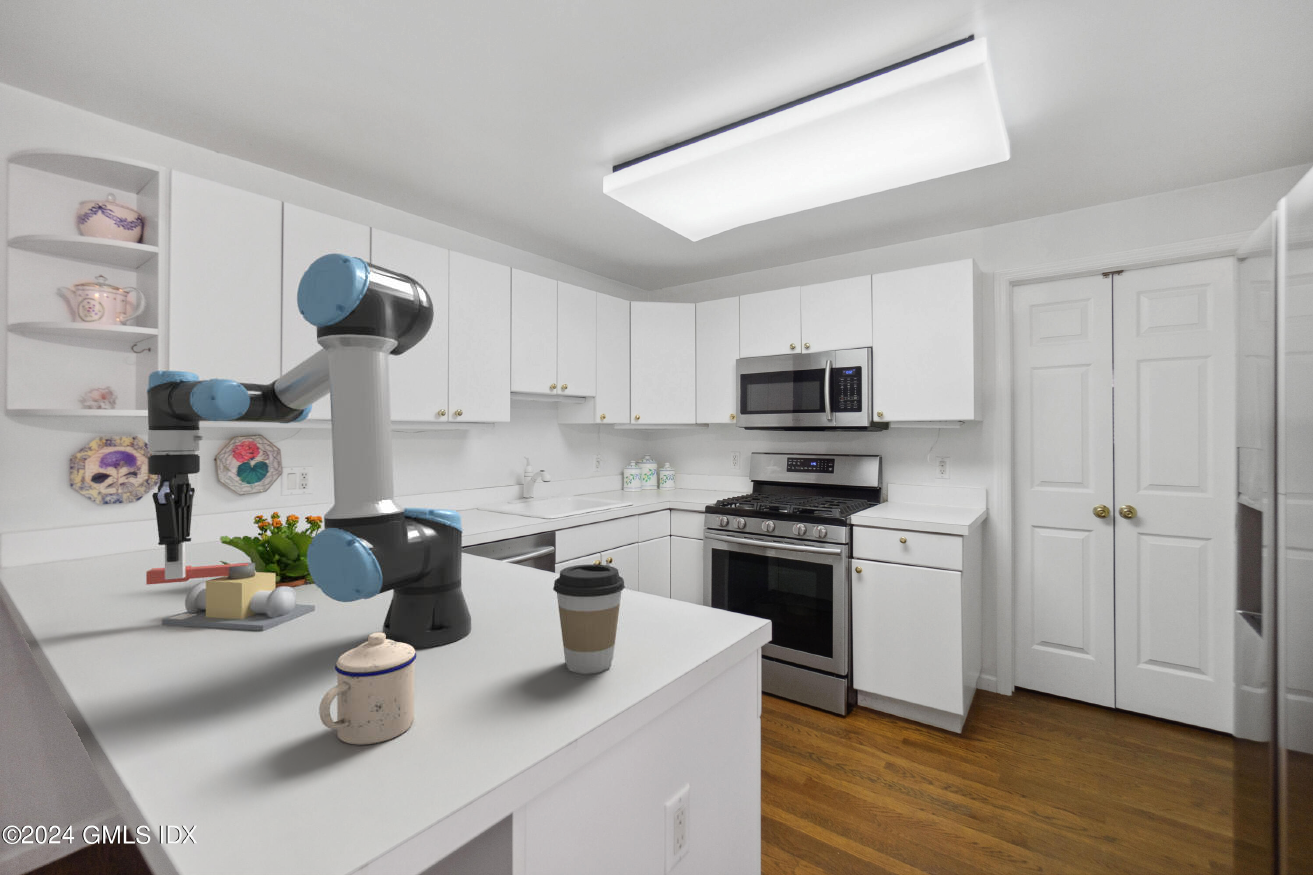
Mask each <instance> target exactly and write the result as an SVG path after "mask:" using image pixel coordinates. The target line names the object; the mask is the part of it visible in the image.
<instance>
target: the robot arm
mask: <svg viewBox="0 0 1313 875" xmlns="http://www.w3.org/2000/svg"><path fill="white" fill-rule="evenodd" d="M296 293H297V294H296V303H297V308H298V312H299V314H300V315H302V316H303V319H304V321H306V322H308V323H309V324H310V325H311V326H314V327H316V342H317V344H318V345H320V347H322V348H321V349H319V350H318V351H316V352H315V353H314V354H312V355H310V356H309V357H308V358H306V359H305V360H303V361H302V362H300V363H299V364H298V365H296V366H295V367H293V368H291V369H290V370H289V371H287V372H285V373H284V374H282V375H281V376H280V377H278V378H277V379H275V380H273V381H272V382H271V383H269V384H263V383H262V384H261V383H251V382H249V383H248V382H238V381H236V380H233V379H227V378H226V379H225V378H223V379H221V378H220V379H219V378H210V379H203V380H200V379H199V375H198V374H197V373H195V372H191V371H181V370H155V371H152V372H151V373H149V375H148V384H147V389H146V394H147V396H146V397H147V420H148V421H147V424H148V430H147V451H148V452H149V453H152V454H150V455H149V456H148V458H147V461H148V466H147V467H148V469H147V470H148V471H147V472H148V474H149V475H151V476H160V478H159V483H158V486H157V492H153V493H152V500H153V504H154V507H155V516H156V525H157V533H158V542H157V545H159V546H164V568H165V580H166V579H178V578H184V577H185V566H186V543H190V542H192V537H190V535H191V527H192V525H191V524H192V514H193V512H192V511H193V503H194V502H193V500H194V498H195V497H194V496H195V492H196V490H195V487H192V485H191V483H190V479H189V475H192V474H198V473H200V470H201V468H200V467H201V464H200V463H201V461H200V458H201V456H200V455H199V454H197V453H196V452H198V451H200V442H201V441H202V440H203V436H202V435H200V422H240V423H241V422H248V423H251V422H257V423H279V424H291V423H301V422H303V421H305V420H306V419H308V417H309V414H310V413H311V412H312V409H313V404H314V403H315V402H318V401H319V400H321V399H322V398H325V397H326V396H327V395H329V394H330V395H329V396H330V398H329V399H330V420H331V445H332V469H333V472H332V474H333V496H334V500H333V501H334V504H333V505H332V507H330V509H329V510H328V511H327V512H326V513H324V515H323V523H324V524H323V525H324V526H323V527H324V529H322V530H321V531H320V532H317V535H316V534H315V535H314V538H313V539H312V543H311V544H310V545H309V547H308V552H307V562H308V568H309V572H310V574H311V577H312V579H313V581H314V582H313V583H314V584H315V586H316V587H317V588H318V589H320V590H321V591H322V593H323V594H324V595H325V596H326V597H328V598H330V599H331V600H333V601H337V602H340V603H352V602H356V601H359V600H368V599H371V598H373V597H376V596H377V595H380V594H384V593H386V592H389V591H393V592H392V599H391V601H390V604H389V606H388V609H387V613H386V616H385V618H384V622H383V625H382V632H381V633H384V634H385V635H386V639H389V640H393V641H395V642H400V643H406V644H408V645H410V646H412V647H413V648H414V649H420V648H421V649H422V648H429V647H437V646H441V645H445V644H449V643H452V642H456V641H458V640H461V639H462V638H465V637H466V636H467V635H469V634H470V633H471V631H472V615H471V614H470V610H469V607H468V604H467V602H466V599H465V596H464V593H463V589H462V565H463V564H462V560H463V559H462V558H463V557H462V554H463V553H462V549H463V548H462V547H463V546H462V545H463V544H462V543H463V542H462V540H463V539H462V538H463V532H464V531H463V528H462V517H461V514H460V512H458V511H457V510H455V509H445V508H442V509H441V508H425V507H424V508H423V507H422V508H421V507H403V506H402V505H401V504H399V502H397V501H396V499H395V496H394V495H395V494H394V493H395V492H394V491H395V490H394V467H393V465H394V464H393V444H392V422H391V420H392V419H391V417H392V416H391V398H390V397H391V396H390V395H391V393H390V390H391V389H390V369H389V368H390V367H389V356H394V357H397V356H401V355H403V354H405V353H406V352H408V351H409V350H411V349H412V348H414V347H415V346H416V345H418V344H419V343H420V342H421V341H422V340H423V339H424V338H425V337H426V336H427V334H428V332H429V331H430V330H431V327H432V325H433V322H434V304H433V302H432V298H431V296H430V294H429V293H428V291H427V290H426V288H425V287H424V286H423V285H422V284H421V283H420V282H419V281H417V280H416V279H414V278H413V277H411V276H409V275H407V274H403V273H401V272H396V271H394V270H390V269H388V268H385V267H382V266H380V265H378V264H377V265H376V264H373V263H372V262H368V261H365V260H364V259H362V258H360V257H357V256H350V255H346V254H343V253H336V252H334V253H327V254H325V255H322V256H320V257H319V258H316V259H315V260H314V261H313V262H312V263H310V265H309V267H308V268H307V270H305V271H304V273H303V275H302V277H301V279H300V280H299V284H298V288H297V292H296Z"/></svg>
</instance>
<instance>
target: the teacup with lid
mask: <svg viewBox="0 0 1313 875" xmlns="http://www.w3.org/2000/svg"><path fill="white" fill-rule="evenodd" d="M416 658H417V652H416V650H415V648H413V647H412V646H410V645H408V644H406V643H400V642H395V641H393V640H389V639H386V635H385V634H384V633H382V632H373V633H371V634H369V635H368V637H367V641H365V642H363V643H361V644H360V645H359V646H357V647H354V648H352V649H350V650H347V651H346V652H344V653H343V654H342V655H340V656H339V657H338V659H337V661H336V663H335V665H334V670H335V671H336V674H337V676H336V680H337V685H334V686H333V687H331V688H330V689H329V690H327V692H326V693H325V694H324V696H323V697H322V699H321V700H320V702H319V703H320V704H319V707H318V709H319V710H318V714H319V719H320V720H321V723H322V724H323V725H324V727H326V728H327V729H331V730H337V731H336V732H337V737H338V739H340V741H342V742H344V743H346V744H350V745H356V746H364V745H365V746H366V745H373V744H379V743H382V742H386V741H389V740H392V739H394V738H397V737H399V736H401V735H402V734H404V733H405V732H406V731H408V730H409V729H410V728H411V726H412V725H413V723H414V721H415V660H416ZM336 697H337V700H336V701H337V704H336V706H337V707H336V708H337V709H336V711H337V716H336V720H337V721H334V719H332V716H331V705H332V702H333V700H334V699H335V698H336Z"/></svg>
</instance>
